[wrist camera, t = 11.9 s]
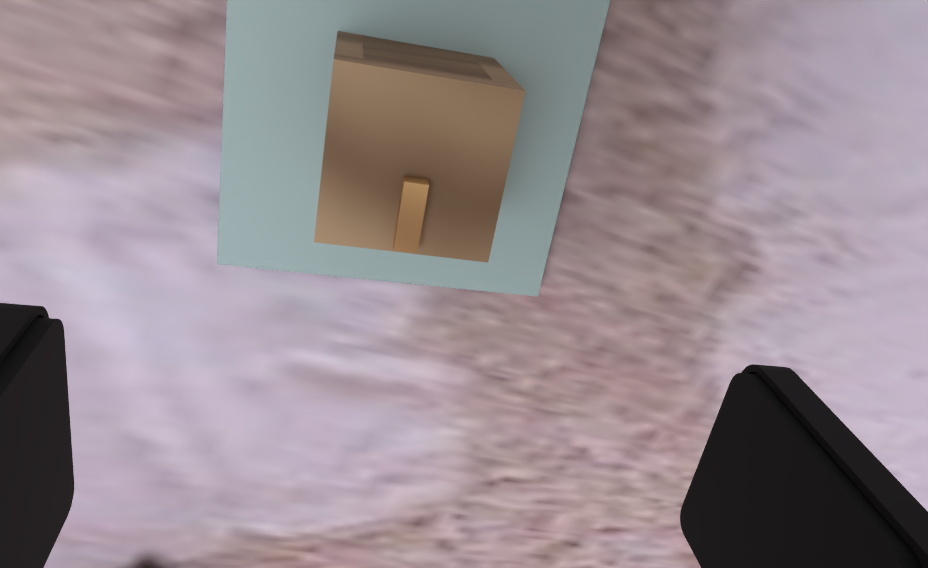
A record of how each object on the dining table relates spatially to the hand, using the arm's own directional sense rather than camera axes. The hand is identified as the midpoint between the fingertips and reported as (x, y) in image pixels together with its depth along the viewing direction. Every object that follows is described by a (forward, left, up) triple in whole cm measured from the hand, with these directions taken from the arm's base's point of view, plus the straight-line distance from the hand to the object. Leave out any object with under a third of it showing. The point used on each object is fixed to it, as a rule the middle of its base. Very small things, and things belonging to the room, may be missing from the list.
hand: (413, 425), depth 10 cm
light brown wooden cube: (+1, +1, -21) cm, 21 cm away
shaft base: (+1, +1, -22) cm, 22 cm away
